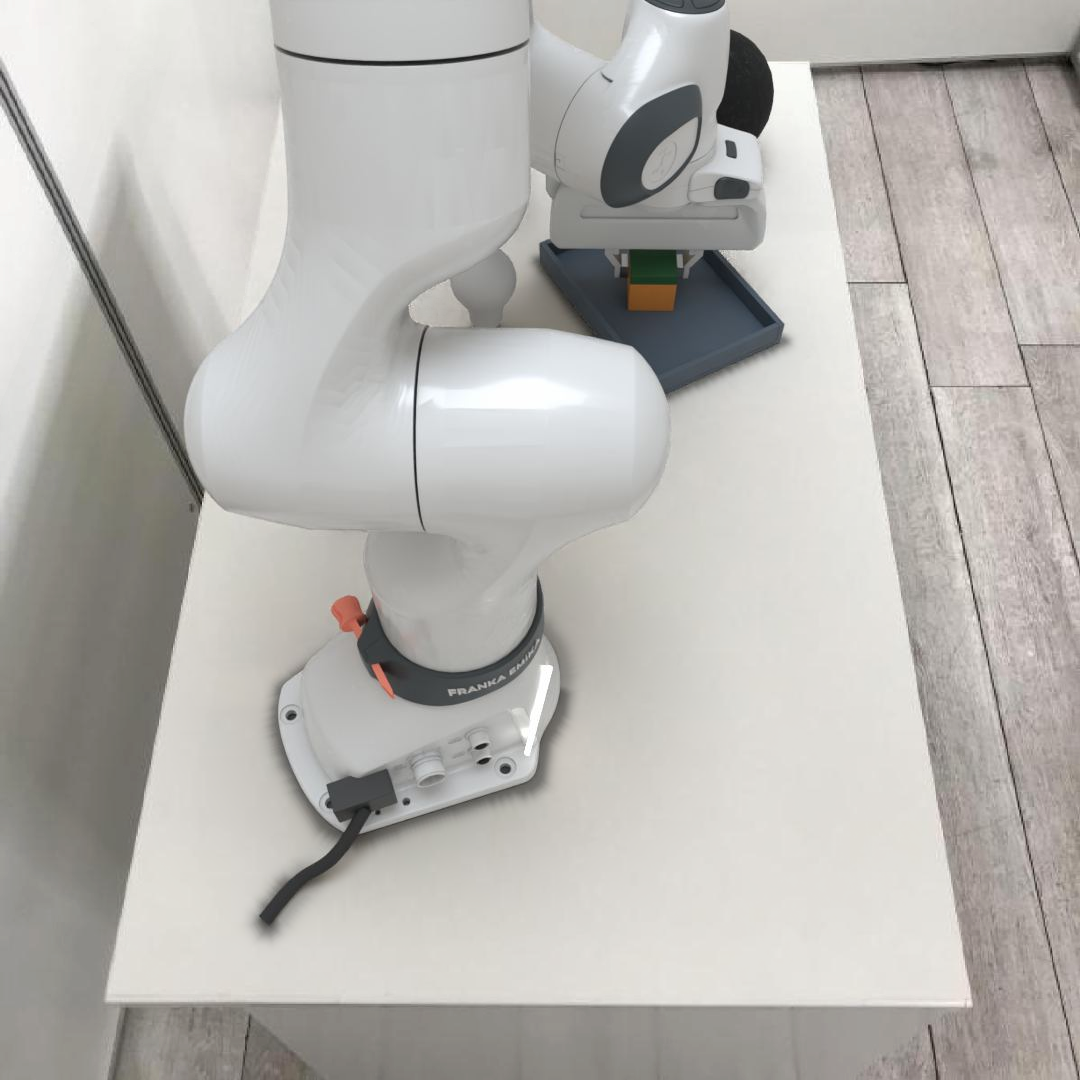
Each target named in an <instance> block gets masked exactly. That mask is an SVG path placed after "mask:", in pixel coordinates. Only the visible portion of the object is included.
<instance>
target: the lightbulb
mask: <svg viewBox="0 0 1080 1080" xmlns="http://www.w3.org/2000/svg"><path fill="white" fill-rule="evenodd" d="M449 283H450V288H451V291H452V293H453V295H454V297H455V299H456V300H457V301H458V302H459V303H460V304H461V305H462V306H463V307H464V308H465V309H466V311H467V312H468V315H469V319H470V323H471V324H472V327H482V328H501V323H502V321H503V316H504V315H503V313H504V309H505V306H506V305H507V304H508V303H509V301H510V300H511V298H512V297H513V294H514V292H515V291H516V286H517V271H516V268H515V265H514V263H513V261H512V259H511V258H510V257H509V255H507V253H505V252H504V251H503V250H502V249H501V248H500V249H499V250H497V251H496V252H495V253H494V254H492V255H491V256H490V257H488V258H487V259H485V260H484V261H482V262H481V263H479V264H478V265H476V266H475V267H473V268H471V269H469V270H467V271H465V272H463V273H461V274H459V275H457V276H455V277H453V278H450V279H449Z"/></svg>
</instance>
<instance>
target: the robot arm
mask: <svg viewBox="0 0 1080 1080" xmlns="http://www.w3.org/2000/svg"><path fill="white" fill-rule="evenodd" d="M268 7H269V17H270V25H271V36H272V41H273V51H274V57H275V64H276V65H275V67H276V74H277V83H278V91H279V99H280V108H281V118H282V119H281V120H282V129H283V138H284V139H283V141H284V153H285V167H286V168H285V169H286V170H285V171H286V192H287V193H286V194H287V195H286V196H287V215H286V227H285V236H284V242H283V246H282V251H281V255H280V259H279V262H278V265H277V268H276V269H275V273H274V275H273V277H272V280H271V281H270V284H269V286H268V287H267V289H266V291H265V293H264V295H263V296H262V298H261V299H260V301H259V303H258V304H257V306H256V307H255V308H254V310H253V311H252V312H251V313H250V315H249V316H248V317H247V318H246V319H245V320H244V321H243V322H242V323H241V324H240V325H239V326H238V327H237V328H236V329H235V330H233V331H232V332H230V333H229V334H228V335H227V336H225V337H224V338H223V339H221V340H220V341H219V342H218V343H217V344H216V345H215V346H214V347H213V348H212V349H211V350H210V351H209V353H208V354H207V355H206V357H204V359H203V360H202V362H200V365H199V366H198V369H197V370H196V372H195V374H194V375H193V378H192V380H191V383H190V385H189V387H188V391H187V394H186V397H185V402H184V410H183V420H182V421H183V423H182V424H183V437H184V443H185V447H186V452H187V456H188V460H189V461H190V465H191V467H192V469H193V472H194V474H195V475H196V478H197V479H198V481H199V482H200V485H201V486H202V488H203V489H204V490H205V492H206V493H207V494H208V495H209V497H210V498H211V499H212V500H213V501H214V502H215V503H216V504H217V505H218V506H219V507H220V508H221V509H222V510H223V511H226V512H227V513H231V514H236V515H239V516H243V517H248V518H252V519H257V520H260V521H265V522H269V523H274V524H281V525H284V526H289V527H294V528H299V529H304V530H312V531H313V530H314V531H315V530H316V531H317V530H318V531H363V532H365V531H366V532H367V534H366V535H365V536H366V537H365V539H364V546H363V555H362V556H363V557H362V558H363V559H362V560H363V567H364V573H365V577H366V581H367V584H368V587H369V590H370V593H371V597H370V601H369V603H368V606H367V608H365V610H364V611H363V610H362V608H361V604H360V602H359V599H358V598H357V596H356V595H345V596H342V597H340V598H338V599H337V600H335V601H334V602H333V604H332V605H331V606H330V612H331V614H332V615H333V617H334V618H335V620H336V621H337V622H338V625H339V629H340V632H338V634H337V635H335V636H334V637H333V638H332V639H330V641H328V642H327V643H326V644H325V645H324V646H323V647H321V649H319V650H318V651H317V652H316V653H315V654H313V656H311V658H309V660H307V662H306V664H305V665H304V666H303V669H302V670H300V671H299V672H298V673H296V674H295V675H294V676H292V677H291V678H290V679H288V680H287V681H285V682H284V684H283V685H282V686H281V690H280V694H279V698H278V707H277V718H278V725H279V726H278V727H279V733H280V737H281V741H282V744H283V748H284V752H285V754H286V757H287V759H288V762H289V765H290V767H291V770H292V772H293V774H294V776H295V778H296V780H297V782H298V785H299V786H300V788H301V790H302V791H303V793H304V795H305V797H306V798H307V799H308V801H309V803H310V804H311V805H312V807H313V808H314V809H315V810H316V812H317V813H318V814H319V815H320V816H321V817H322V818H323V820H325V821H326V822H327V823H329V824H330V825H331V826H332V827H334V828H336V829H337V830H339V831H340V832H342V835H341V836H340V838H338V840H337V842H336V843H335V845H333V846H332V848H331V849H330V850H329V851H328V852H327V853H326V854H325V855H324V856H323V857H321V858H319V859H318V860H316V861H315V862H314V863H311V864H310V865H308V866H306V867H305V868H302V869H301V870H300V871H298V872H297V873H296V874H294V875H293V876H292V877H291V878H290V879H289V880H288V881H287V882H286V883H285V884H284V885H283V886H282V887H281V888H280V890H278V891H277V892H276V894H275V895H274V897H273V898H272V899H271V900H270V901H269V903H268V904H267V905H266V906H265V907H264V909H263V910H262V911H261V912H260V913H259V915H258V917H259V918H260V919H261V920H262V921H263V922H265V923H266V924H267V925H270V924H271V923H272V922H273V920H275V919H276V917H277V915H278V914H279V913H280V912H281V910H282V909H283V908H284V906H286V905H287V903H288V902H289V901H290V899H291V898H292V897H293V896H294V895H295V894H297V892H298V891H299V890H300V889H302V887H304V886H305V885H306V884H307V883H308V882H310V881H312V880H314V879H315V878H317V877H319V876H321V875H323V874H324V873H326V872H327V871H329V870H330V869H332V868H333V867H334V866H335V865H336V864H337V863H339V862H340V860H342V859H343V857H344V856H345V855H346V854H347V853H348V851H349V850H350V848H351V847H352V846H353V844H354V842H355V841H356V840H357V837H358V836H359V835H361V834H365V833H368V832H371V831H374V830H378V829H381V828H384V827H388V826H390V825H394V824H398V823H401V822H403V821H406V820H410V819H413V818H416V817H419V816H422V815H426V814H429V813H432V812H435V811H439V810H443V809H445V808H448V807H452V806H454V805H458V804H461V803H464V802H466V801H471V800H474V799H477V798H480V797H483V796H486V795H489V794H493V793H496V792H499V791H502V790H505V789H509V788H512V787H515V786H518V785H521V784H524V783H525V784H526V783H527V782H528V781H530V780H531V779H532V778H533V777H534V776H535V774H536V772H537V769H538V763H539V756H540V742H541V740H542V737H543V735H544V733H545V731H546V729H547V727H548V725H549V724H550V722H551V720H552V718H553V716H554V714H555V711H556V709H557V705H558V703H559V698H560V694H561V693H560V692H561V669H560V665H559V659H558V657H557V654H556V653H555V650H554V648H553V645H552V644H551V642H550V640H549V639H548V638H547V636H546V635H545V633H544V630H545V597H544V592H543V587H542V583H541V580H540V577H539V573H538V572H539V567H540V566H541V565H542V564H543V562H545V561H546V560H548V558H550V557H551V556H552V555H554V554H555V553H557V552H558V551H560V550H561V549H563V548H564V547H566V546H567V545H569V544H571V543H573V542H575V541H576V540H579V539H581V538H583V537H585V536H588V535H591V534H592V533H595V532H598V531H600V530H604V529H606V528H609V527H613V526H616V525H619V524H622V523H626V522H629V521H630V520H632V519H633V518H634V516H636V515H637V514H638V513H639V512H640V511H641V510H642V508H644V507H645V505H646V504H647V503H648V501H649V500H650V499H651V497H652V496H653V495H654V493H655V491H656V490H657V488H658V486H659V484H660V483H661V481H662V477H663V475H664V473H665V470H666V467H667V464H668V460H669V457H670V452H671V445H672V422H671V421H672V420H671V412H670V408H669V404H668V400H667V397H666V394H665V393H664V391H663V388H662V386H661V384H660V382H659V380H658V378H657V376H656V374H655V373H654V371H653V370H652V368H651V366H650V365H649V364H648V362H647V361H646V360H645V359H644V358H643V356H642V355H641V354H640V353H639V352H638V351H637V350H636V349H635V348H634V347H632V346H629V345H625V344H621V343H616V342H612V341H608V340H603V339H599V338H598V337H594V336H590V335H585V334H581V333H580V334H579V333H576V332H575V333H574V332H570V331H565V330H560V329H554V328H550V327H549V328H548V327H546V328H545V327H500V328H482V327H473V326H472V327H471V326H470V327H469V326H430V325H429V324H423V323H418V322H416V321H415V320H414V319H413V318H412V317H411V314H410V306H409V305H410V304H411V303H412V302H413V301H415V299H417V298H418V297H419V296H420V295H422V294H423V293H425V292H426V291H428V290H430V289H432V288H433V287H436V286H437V285H440V284H442V283H444V282H446V281H449V280H450V278H453V277H455V276H457V275H459V274H461V273H463V272H465V271H467V270H469V269H471V268H473V267H475V266H476V265H478V264H479V263H481V262H482V261H484V260H485V259H487V258H488V257H490V256H491V255H492V254H494V253H495V252H496V251H497V250H499V249H500V250H501V248H502V247H503V246H504V245H505V244H507V242H508V241H510V239H511V238H512V236H514V234H515V233H516V231H517V230H518V228H519V227H520V225H521V223H522V221H523V219H524V217H525V214H526V212H527V209H528V206H529V202H530V198H531V193H532V191H531V190H532V187H531V185H532V184H531V183H532V181H531V180H532V179H531V175H532V174H531V173H532V171H531V168H533V169H534V170H536V171H537V172H540V173H542V174H544V175H545V191H546V194H547V195H548V197H549V198H551V203H550V212H549V213H550V214H549V239H550V241H551V242H552V243H553V244H554V245H555V246H556V247H558V248H561V249H605V256H606V257H607V258H608V259H609V261H610V262H611V263H612V265H613V266H614V278H628V277H629V254H621V252H620V250H619V249H658V250H685V251H684V252H683V254H677V270H678V278H686V279H688V275H689V268H690V267H692V266H693V265H694V264H695V263H696V262H697V261H698V260H699V259H700V258H701V257H702V256H703V252H704V250H719V251H754V250H755V249H757V248H758V247H760V246H761V245H762V244H763V243H764V241H765V236H766V228H767V203H766V202H767V201H766V192H765V186H764V185H765V184H764V165H763V157H762V151H761V148H760V144H759V141H758V138H756V137H755V136H754V135H752V134H750V133H747V132H743V131H740V130H736V129H733V128H730V127H726V126H723V125H721V124H718V123H717V119H716V111H717V109H718V107H719V105H720V103H721V101H722V98H723V95H724V90H725V83H726V77H727V69H728V59H729V46H730V29H731V19H730V18H731V17H730V8H729V4H728V0H628V2H627V7H626V10H625V14H624V21H623V28H622V34H621V40H620V45H619V47H618V48H617V50H616V52H615V53H614V55H613V56H612V57H611V58H610V59H609V61H607V60H604V59H602V58H600V57H597V56H596V55H595V54H592V53H590V52H587V51H585V50H583V49H581V48H579V47H578V46H575V45H573V44H571V43H569V42H567V41H565V40H563V39H562V38H560V37H558V36H557V35H555V34H554V33H552V32H551V31H550V30H548V29H547V28H546V27H545V26H543V25H542V23H540V21H538V20H537V18H536V17H535V16H534V6H533V0H268ZM292 714H295V715H296V716H295V718H294V719H291V720H290V719H288V718H289V716H290V715H292ZM504 767H508V768H510V771H509V772H508V773H503V772H501V769H502V768H504ZM406 802H409V804H406ZM329 803H330V805H331V807H330V808H329V807H328V804H329Z"/></svg>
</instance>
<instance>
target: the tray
mask: <svg viewBox="0 0 1080 1080" xmlns="http://www.w3.org/2000/svg"><path fill="white" fill-rule="evenodd" d="M538 245H539V248H538V249H539V252H538V253H539V263H540V265H542V267H543V268H544V269H545V271H546V272H547V273H548V274H549V277H551V278H552V280H553V281H554V282H555V284H556V285H557V287H558V288H559V289H560V290H561V291H562V293H563V294H564V295H565V297H566V298H567V299H568V300H569V302H570V303H571V304H572V306H573V307H574V308H575V310H576V311H577V312H578V314H579V315H580V316H581V317H582V319H583V321H585V323H586V324H587V325H588V326H589V328H590V329H591V331H592V332H593V333H594V334H595V336H596V338H599V339H603V340H608V341H612V342H616V343H621V344H625V345H629V346H632V347H634V348H635V349H636V350H637V351H638V352H639V353H640V354H641V355H642V356H643V358H644V359H645V360H646V361H647V362H648V364H649V365H650V366H651V368H652V370H653V371H654V373H655V374H656V376H657V378H658V380H659V382H660V384H661V386H662V388H663V391H664V393H665V395H667V394H669V393H671V392H673V391H675V390H677V389H680V388H682V387H684V386H686V385H689V384H691V383H693V382H696V381H697V380H700V379H702V378H704V377H706V376H708V375H711V374H713V373H715V372H718V371H719V370H722V369H723V368H726V367H728V366H730V365H733V364H735V363H737V362H739V361H741V360H744V359H746V358H749V357H751V356H752V355H755V354H758V353H759V352H761V351H764V350H765V349H768V348H770V347H772V346H775V345H778V344H779V343H780V342H781V339H782V336H783V332H784V328H785V322H783V320H781V318H780V317H779V316H778V315H777V314H776V313H775V312H774V310H773V309H772V308H771V306H769V305H768V303H766V301H765V300H764V299H763V298H762V297H761V296H760V294H759V293H757V291H756V290H755V289H754V288H753V287H752V286H751V284H749V283H748V281H747V280H746V279H745V278H744V277H743V276H742V275H741V273H740V272H739V271H738V270H737V269H736V268H735V266H734V265H733V264H731V262H730V261H729V260H728V259H727V258H726V256H725V255H723V253H722V252H721V250H704V252H703V256H702V257H701V258H700V259H699V260H698V261H697V262H696V263H695V264H694V265H693V266H692V267H690V268H689V275H688V279H686V278H678V279H677V286H676V293H675V301H674V308H673V311H629V310H628V298H627V278H614V266H613V265H612V263H611V262H610V261H609V259H608V258H607V257H606V256H605V249H561V248H558V247H556V246H555V245H554V244H553V243H552V242H551V241H550V238H547V239H545V240H543V241H540V242H539V243H538ZM619 250H620V252H621V254H627V249H619ZM684 251H685V250H676V252H677V254H683V252H684Z"/></svg>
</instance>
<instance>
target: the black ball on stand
mask: <svg viewBox="0 0 1080 1080" xmlns="http://www.w3.org/2000/svg"><path fill="white" fill-rule="evenodd" d="M774 86H775V85H774V80H773V72H772V70H771V68H770V65H769V62H768V61H767V58H766V56H765V55H764V53H763V52H762V51H761V49H760V48H759V47H758V45H757V44H756V43H755V42H754V41H753V40H751V39H750V38H748V37H747V36H746V35H744V34H742V33H741V32H739V31H736V30H735V29H732V28H730V46H729V59H728V69H727V77H726V83H725V90H724V95H723V98H722V101H721V103H720V105H719V107H718V109H717V111H716V119H717V123H718V124H721V125H723V126H726V127H730V128H733V129H736V130H740V131H743V132H747V133H750V134H752V135H754V136H755V137H756V138H757V139H759V138H760V136H761V135H762V133H763V131H764V129H765V128H766V125H767V124H768V122H769V120H770V116H771V114H772V111H773V110H772V109H773V105H774V99H775V98H774V97H775V87H774Z"/></svg>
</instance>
